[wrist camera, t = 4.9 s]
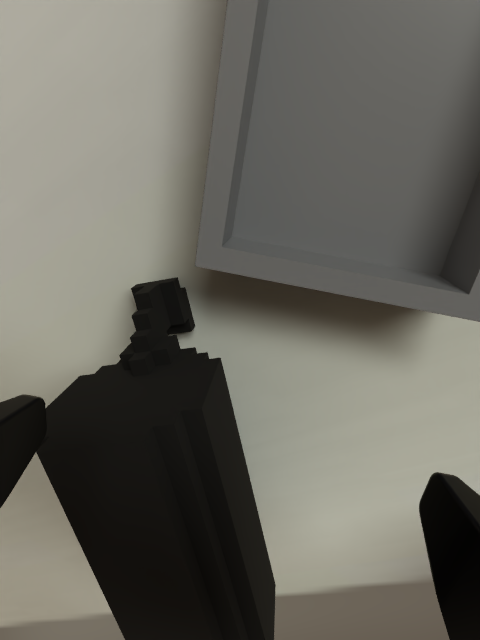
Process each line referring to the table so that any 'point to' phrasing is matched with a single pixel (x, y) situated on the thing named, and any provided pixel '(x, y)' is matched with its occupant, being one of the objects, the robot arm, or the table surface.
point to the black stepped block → (162, 485)
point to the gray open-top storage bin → (349, 150)
